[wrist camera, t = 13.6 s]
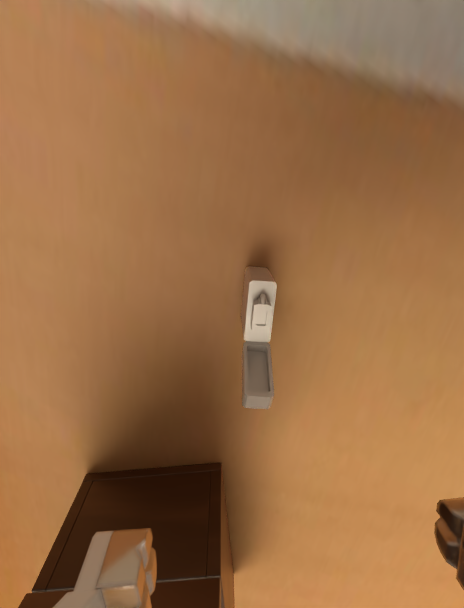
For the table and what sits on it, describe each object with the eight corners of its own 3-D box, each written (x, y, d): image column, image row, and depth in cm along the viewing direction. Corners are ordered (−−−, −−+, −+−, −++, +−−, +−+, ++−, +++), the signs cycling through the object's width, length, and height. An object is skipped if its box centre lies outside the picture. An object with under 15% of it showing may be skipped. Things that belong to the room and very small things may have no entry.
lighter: (245, 265, 27) (254, 297, 20) (269, 267, 28) (287, 299, 20) (237, 354, 30) (242, 413, 22) (259, 355, 30) (272, 414, 22)
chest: (233, 574, 37) (237, 709, 27) (113, 584, 37) (75, 723, 27) (221, 462, 33) (220, 575, 23) (86, 473, 33) (31, 591, 23)
